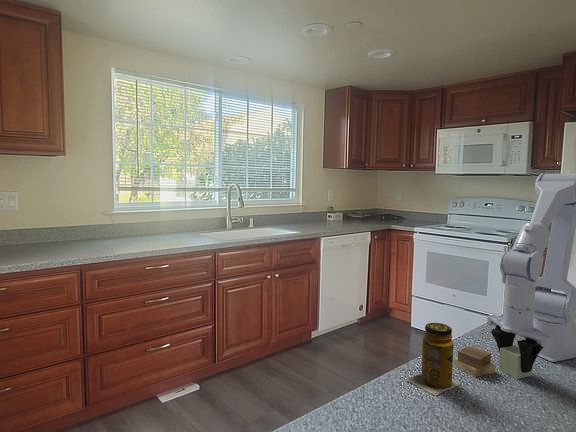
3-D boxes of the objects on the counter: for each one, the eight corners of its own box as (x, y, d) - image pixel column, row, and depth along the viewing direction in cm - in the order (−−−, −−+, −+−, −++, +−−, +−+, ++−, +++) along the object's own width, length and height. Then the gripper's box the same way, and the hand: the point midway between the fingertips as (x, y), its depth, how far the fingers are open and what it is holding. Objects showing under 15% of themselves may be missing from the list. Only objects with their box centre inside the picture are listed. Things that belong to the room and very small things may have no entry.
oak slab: (474, 362, 92) (474, 353, 92) (495, 374, 86) (495, 365, 86) (453, 367, 90) (454, 357, 90) (474, 379, 84) (474, 369, 84)
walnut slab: (468, 354, 91) (469, 345, 91) (490, 362, 87) (491, 353, 87) (457, 360, 88) (458, 351, 88) (479, 369, 84) (480, 359, 84)
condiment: (461, 384, 81) (463, 328, 80) (435, 396, 76) (437, 337, 75) (431, 370, 87) (432, 318, 86) (405, 380, 83) (407, 325, 82)
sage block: (514, 366, 89) (515, 345, 88) (532, 375, 85) (533, 353, 84) (499, 369, 87) (500, 347, 87) (516, 378, 83) (517, 356, 83)
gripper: (478, 298, 90) (475, 355, 91) (536, 319, 77) (532, 385, 78) (501, 295, 93) (498, 350, 94) (561, 315, 79) (557, 379, 80)
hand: (515, 366), depth 86 cm, fingers closed on sage block, 4 cm apart
